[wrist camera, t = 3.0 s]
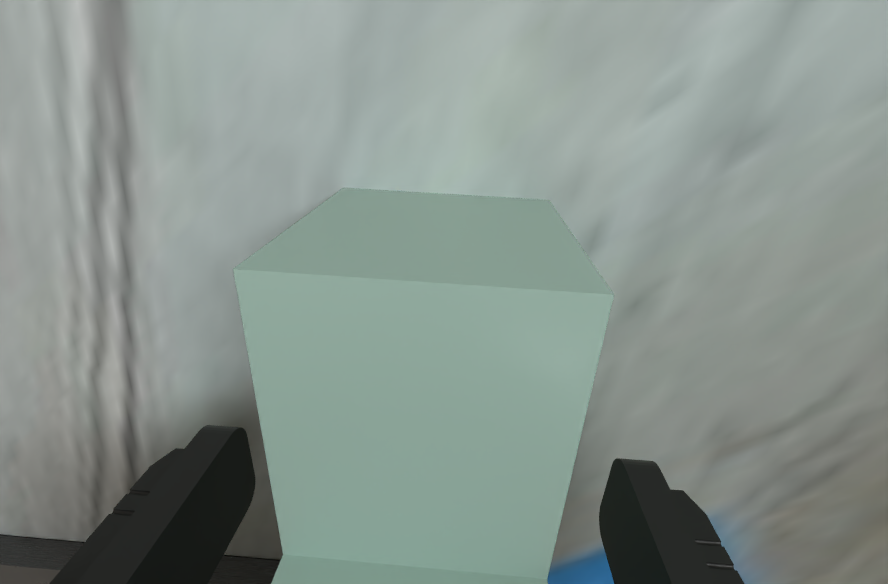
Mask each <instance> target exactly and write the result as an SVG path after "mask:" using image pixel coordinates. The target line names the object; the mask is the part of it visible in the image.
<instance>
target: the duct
mask: <svg viewBox="0 0 888 584" xmlns="http://www.w3.org/2000/svg"><path fill="white" fill-rule="evenodd" d="M83 544H84V543H79V542H68V541H57V540H46V539H35V538H24V537H14V536H3V535H0V584H49V583H50V582H51V581H52V580H53V579H54V578H55V576H56V575H57V574H58V573H59V572H60V571H61V569H62V568H63V567H64V566H65V565H66V564H67V562H68V561H69V560H70V559H71V558H72V557H73V556H74V554H75V553H76V552H77V551H78V550H79V549H80V547H81V546H82V545H83ZM279 563H280V561H276V560H265V559H254V558H243V557H232V556H222V558H221V560H220V562H219V564H218V566H217V567H216V569H215V571H214V573H213V575H212V577H211V579H210V580H209V582H208V584H271V583H272V580H273V578H274V575H275V573H276V570H277V568H278V566H279Z"/></svg>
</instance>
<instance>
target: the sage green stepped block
mask: <svg viewBox="0 0 888 584" xmlns="http://www.w3.org/2000/svg"><path fill="white" fill-rule="evenodd" d="M233 272H234V277H235V283H236V289H237V294H238V300H239V306H240V312H241V317H242V323H243V329H244V334H245V340H246V346H247V352H248V357H249V363H250V369H251V374H252V380H253V386H254V391H255V397H256V403H257V409H258V414H259V420H260V426H261V431H262V437H263V443H264V449H265V454H266V460H267V466H268V471H269V477H270V483H271V489H272V494H273V500H274V506H275V511H276V517H277V523H278V528H279V534H280V540H281V546H282V551H283V556H282V558H281V561H280V563H279V566H278V568H277V570H276V573H275V575H274V578H273V580H272V583H271V584H548V582H547V577H548V573H549V569H550V565H551V560H552V556H553V552H554V548H555V543H556V539H557V535H558V531H559V526H560V522H561V518H562V514H563V509H564V505H565V501H566V497H567V492H568V488H569V484H570V480H571V476H572V471H573V467H574V463H575V459H576V454H577V450H578V446H579V442H580V437H581V433H582V429H583V425H584V420H585V416H586V412H587V408H588V403H589V399H590V395H591V391H592V386H593V382H594V378H595V374H596V369H597V365H598V361H599V357H600V352H601V348H602V344H603V340H604V336H605V331H606V327H607V323H608V319H609V314H610V310H611V306H612V302H613V297H614V294H613V292H612V291H611V290H610V288H609V287H608V285H607V284H606V282H605V281H604V279H603V278H602V276H601V275H600V274H599V272H598V271H597V269H596V268H595V266H594V265H593V263H592V262H591V260H590V259H589V257H588V256H587V255H586V253H585V252H584V250H583V249H582V247H581V246H580V244H579V243H578V241H577V240H576V239H575V237H574V236H573V234H572V233H571V231H570V230H569V228H568V227H567V225H566V224H565V223H564V221H563V220H562V218H561V217H560V215H559V214H558V212H557V211H556V209H555V208H554V206H553V205H552V204H551V202H550V201H549V200H540V199H523V198H506V197H489V196H472V195H455V194H438V193H421V192H405V191H388V190H371V189H354V188H343V189H341V190H340V191H338V192H337V193H336V194H334V195H333V196H332V197H330V198H329V199H328V200H326V201H325V202H324V203H322V204H321V205H319V206H318V207H317V208H315V209H314V210H313V211H311V212H310V213H309V214H307V215H306V216H305V217H303V218H302V219H300V220H299V221H298V222H296V223H295V224H294V225H292V226H291V227H290V228H288V229H287V230H285V231H284V232H283V233H281V234H280V235H279V236H277V237H276V238H275V239H273V240H272V241H271V242H269V243H268V244H266V245H265V246H264V247H262V248H261V249H260V250H258V251H257V252H256V253H254V254H253V255H252V256H250V257H249V258H247V259H246V260H245V261H243V262H242V263H241V264H239V265H238V266H237V267H235V268H234V269H233Z"/></svg>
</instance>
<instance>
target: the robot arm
mask: <svg viewBox="0 0 888 584" xmlns="http://www.w3.org/2000/svg"><path fill="white" fill-rule="evenodd" d="M254 489H255V474H254V469H253V464H252V459H251V454H250V449H249V444H248V438H247V434H246V431H245V430H244V429H243V428H238V427H225V426H213V425H207V426H205V427H203V428H202V429H201V430H200V431H199V432H198V433H197V434H196V436H195V437H194V438H193V439H192V441H191V442H190V443H189V444H188V446H187V447H186V448H185V449H178V448H176V449H174V450H173V451H172V452H170V453H169V454H167V455H166V456H164V457H163V458H162V459H160V460H159V461H157V462H156V463H155V464H153V465H152V466H150V467H149V468H148V470H147V471H146V472H145V473H144V474H143V475H142V477H141V478H140V479H139V480H138V481H137V482H136V484H135V485H134V486H133V487H132V488H131V489H130V493H129V494H126V495H125V496H124V497H123V499H122V500H121V501H120V502H119V503H118V504H117V506H116V507H115V508H114V511H113V513H112V514H109V515H108V516H107V517H106V518H105V520H104V521H103V522H102V523H101V524H100V525H99V526H98V528H97V529H96V530H95V531H94V532H93V533H92V535H91V536H90V537H89V538H88V539H87V540H86V542H85V543H84V544H83V545H82V546H81V547H80V549H79V550H78V551H77V552H76V553H75V554H74V556H73V557H72V558H71V559H70V560H69V561H68V562H67V564H66V565H65V566H64V567H63V568H62V569H61V571H60V572H59V573H58V574H57V575H56V576H55V578H54V579H53V580H52V581H51V582H50V583H49V584H208V582H209V580H210V579H211V577H212V575H213V573H214V571H215V569H216V567H217V566H218V564H219V562H220V560H221V558H222V556H223V554H224V553H225V551H226V549H227V547H228V545H229V543H230V541H231V540H232V538H233V536H234V534H235V532H236V530H237V528H238V527H239V525H240V523H241V521H242V519H243V517H244V515H245V514H246V512H247V510H248V508H249V506H250V503H251V501H252V498H253V494H254ZM599 524H600V533H601V538H602V542H603V545H604V549H605V552H606V556H607V559H608V563H609V566H610V570H611V573H612V577H613V580H614V584H744V582H743V581H742V579H741V577H740V575H739V573H738V572H737V571H735V570H734V567H733V565H734V564H733V562H732V561H731V559H730V557H729V555H728V553H727V552H726V550H725V548H724V547H722V546H721V541H720V539H719V537H718V535H717V533H716V532H715V530H714V528H713V526H712V524H711V523H710V521H709V519H708V517H707V515H706V514H705V513H704V512H703V511H702V510H701V509H700V508H699V507H698V506H697V505H696V503H695V502H694V501H693V500H692V499H691V498H690V497H689V496H688V495H687V494H686V493H685V492H684V491H682V490H670V488H669V486H668V484H667V482H666V480H665V478H664V476H663V474H662V472H661V470H660V468H659V467H658V465H657V464H656V463H655V462H653V461H644V460H631V459H618V458H617V459H615V460H614V462H613V464H612V467H611V471H610V474H609V478H608V481H607V485H606V488H605V492H604V495H603V499H602V502H601V506H600V513H599Z"/></svg>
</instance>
